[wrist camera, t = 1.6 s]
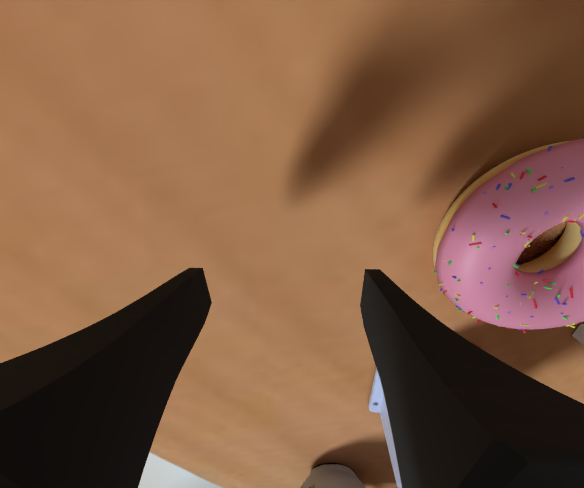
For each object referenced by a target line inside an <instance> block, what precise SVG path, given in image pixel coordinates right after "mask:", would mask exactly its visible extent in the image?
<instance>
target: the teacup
mask: <svg viewBox="0 0 584 488" xmlns="http://www.w3.org/2000/svg"><path fill="white" fill-rule="evenodd" d="M301 488H366V487H365V486H364V484H363V483H362V482H361V481H360V480H359V479H358V478H357V477H356V475H355V473H354V472H353V471H352V470H351V469H350V468H349V467H346V466H343V465H339V464H328V465H320V466H318V467H316V468H313V469H312V471H311V473H310V475H309V477H308V478H307V479H306V480H305V482H304V483H303V485H302V486H301Z"/></svg>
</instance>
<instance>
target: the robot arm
mask: <svg viewBox="0 0 584 488" xmlns="http://www.w3.org/2000/svg"><path fill="white" fill-rule="evenodd" d="M211 303H212V302H211V298H210V295H209V291H208V287H207V283H206V279H205V275H204V271H203V268H189V269H187V270H185V271H183V272H182V273H180V274H178V275H177V276H175V277H173V278H172V279H170V280H169V281H167V282H166V283H164V284H162V285H161V286H159V287H158V288H156V289H155V290H153V291H151V292H150V293H148V294H147V295H145V296H143V297H142V298H140V299H138V300H137V301H135V302H133V303H131V304H130V305H128V306H126V307H125V308H123V309H121V310H120V311H118V312H116V313H114V314H112V315H110V316H108V317H107V318H105V319H103V320H101V321H99V322H97V323H95V324H93V325H91V326H89V327H87V328H85V329H82V330H80V331H78V332H76V333H73V334H71V335H69V336H67V337H65V338H62V339H60V340H58V341H56V342H53V343H51V344H49V345H46V346H44V347H41V348H39V349H36V350H34V351H31V352H29V353H26V354H24V355H21V356H19V357H16V358H13V359H11V360H8V361H5V362H3V363H0V488H138V485H139V482H140V479H141V475H142V472H143V469H144V466H145V463H146V460H147V457H148V454H149V451H150V448H151V445H152V442H153V439H154V437H155V434H156V431H157V428H158V425H159V423H160V420H161V417H162V415H163V412H164V409H165V406H166V404H167V401H168V399H169V396H170V394H171V391H172V389H173V386H174V384H175V381H176V379H177V377H178V375H179V373H180V371H181V369H182V367H183V365H184V363H185V361H186V359H187V357H188V355H189V353H190V351H191V349H192V347H193V345H194V343H195V341H196V339H197V337H198V335H199V333H200V331H201V329H202V327H203V325H204V323H205V321H206V318H207V315H208V312H209V309H210V306H211ZM360 307H361V313H362V318H363V324H364V328H365V332H366V335H367V338H368V342H369V345H370V348H371V351H372V355H373V358H374V361H375V364H376V372H375V377H374V382H373V386H372V391H371V396H370V401H369V410H370V411H371V412H379V413H380V416H381V420H382V424H383V428H384V433H385V437H386V441H387V446H388V450H389V454H390V458H391V463H392V467H393V471H394V475H395V480H396V484H397V487H398V488H584V404H583V403H580V402H578V401H576V400H574V399H572V398H570V397H568V396H566V395H564V394H562V393H560V392H558V391H556V390H554V389H552V388H550V387H548V386H546V385H544V384H542V383H540V382H538V381H536V380H535V379H533V378H531V377H529V376H527V375H525V374H523V373H521V372H520V371H518V370H516V369H514V368H512V367H511V366H509V365H507V364H505V363H504V362H502V361H500V360H498V359H497V358H495V357H493V356H492V355H490V354H488V353H487V352H485V351H483V350H482V349H480V348H478V347H477V346H475V345H474V344H472V343H471V342H469V341H467V340H466V339H464V338H463V337H462V336H460V335H459V334H457V333H456V332H454V331H453V330H451V329H450V328H448V327H447V326H446V325H444V324H443V323H441V322H440V321H439V320H437V319H436V318H435V317H434V316H432V315H431V314H430V313H428V312H427V311H426V310H425V309H423V308H422V307H421V306H420V305H419V304H417V303H416V302H415V301H414V300H413V299H412V298H410V297H409V296H408V295H407V294H406V293H405V292H404V291H403V290H401V289H400V288H399V287H398V286H397V285H396V284H395V283H394V282H393V281H392V280H391V279H390V278H389V277H387V276H386V275H385V274H384V273H383V272H382V271H381V270H380V269H365V274H364V282H363V289H362V297H361V304H360Z"/></svg>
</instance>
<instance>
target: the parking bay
mask: <svg viewBox="0 0 584 488" xmlns="http://www.w3.org/2000/svg"><path fill="white" fill-rule="evenodd" d="M572 336H573V337H574V338H575V339H577V340H578V341H579V342H580V343H581V344H583V345H584V324H580V325H579V327H578V328H577V329H576V331H575V332H574V333H573V335H572Z"/></svg>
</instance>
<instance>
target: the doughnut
mask: <svg viewBox="0 0 584 488" xmlns="http://www.w3.org/2000/svg"><path fill="white" fill-rule="evenodd" d="M563 222H567V225H566V228H565V231H564V233H563V235H562V236H561V238H560V239H559V240H558V242H557V243H556V244H555V245H554V246H553V247H552V248H551V249H550V250H548V251H547V252H546V253H544V254H543V255H541V256H540V257H538V258H536V259H534V260H532V261H530V262H527V263H524V264H520V265H518V264H516V262H517V260H518V258H519V256H520V254H521V253H522V251H523V250H524V249H525V248H528V247H530V245H528V244H529V243H530V242H532V241H533V240H534V239H535V238H536V237H538V236H539V235H540V234H542V233H543V232H545V231H546V230H548V229H550V228H552V227H554V226H556V225H558V224H560V223H563ZM433 263H434V268H435V271H434V272H435V274H436V275H437V278H438V281H439V285H440V286H441V289H440V291H442V290H443V294H444V295H446V296H447V297H448V298H449V299H450V300H451V301H452V302H453V303H454V304H455V305H456V307H458V308H460V309H459V311H461V310H463V312H467V313H468V314H470V315H472V316H473V317H472V318H478V319H480V320H477V321H478V322H480V321H484V322H487V323H490V324H493V325H498V326H499V327H501V326H502V327H507V329H509V328H514V329H518V330H522V331H523V332H524V333H526V332H525V330H526V329H546V328H555V327H561V326H571V327H572V328H575V326H573V325H575V324H578V323H579V322H583V321H584V138H581V139H577V140H573V141H564V142H558V143H553V144H549V145H545V146H541V147H538V148H535V149H532V150H529V151H527V152H524V153H521V154H519V155H517V156H515V157H512V158H510V159H508V160H506V161H505V162H503V163H501V164H499V165H497V166H496V167H494V168H492V169H491V170H489V171H488V172H486V173H485V174H484V175H482V176H481V177H480V178H478V179H477V180H476V181H475V182H473V183H472V184H471V185H470V186H469V187H468V188H467V189H466V190H465V191H464V192H463V193H462V194H461V195H460V196H459V197H458V198H457V199H456V200H455V202H454V203H453V204H452V205H451V207H450V208H449V210H448V211H447V213H446V214H445V216H444V218H443V219H442V221H441V223H440V226H439V228H438V231H437V233H436V237H435V241H434V246H433Z"/></svg>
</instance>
